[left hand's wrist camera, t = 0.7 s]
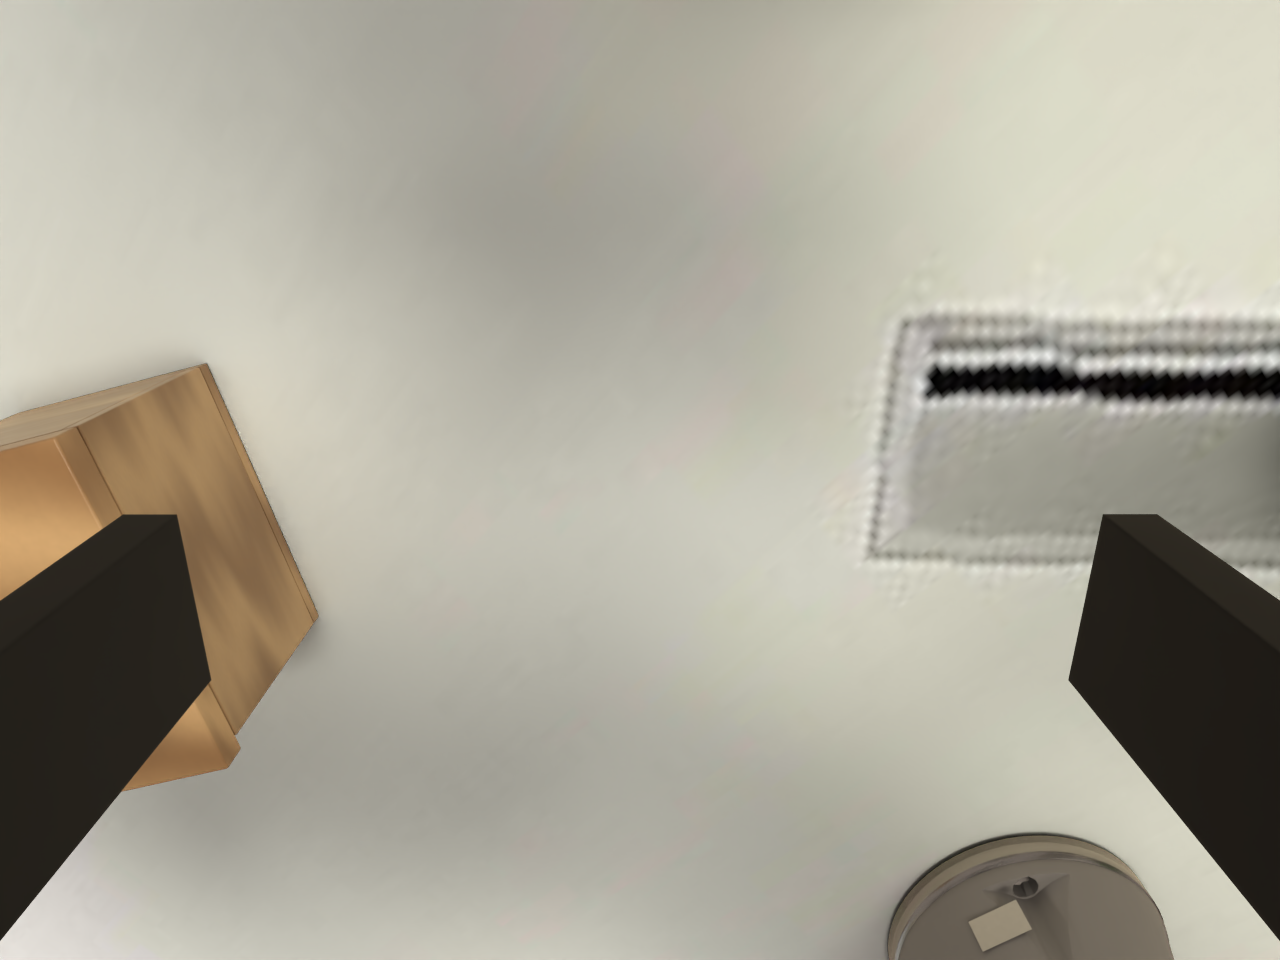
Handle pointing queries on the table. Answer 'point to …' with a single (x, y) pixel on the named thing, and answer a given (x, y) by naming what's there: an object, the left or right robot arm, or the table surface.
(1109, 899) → the right robot arm
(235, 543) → the chest
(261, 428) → the table surface
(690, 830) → the table surface
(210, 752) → the lid
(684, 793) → the table surface
